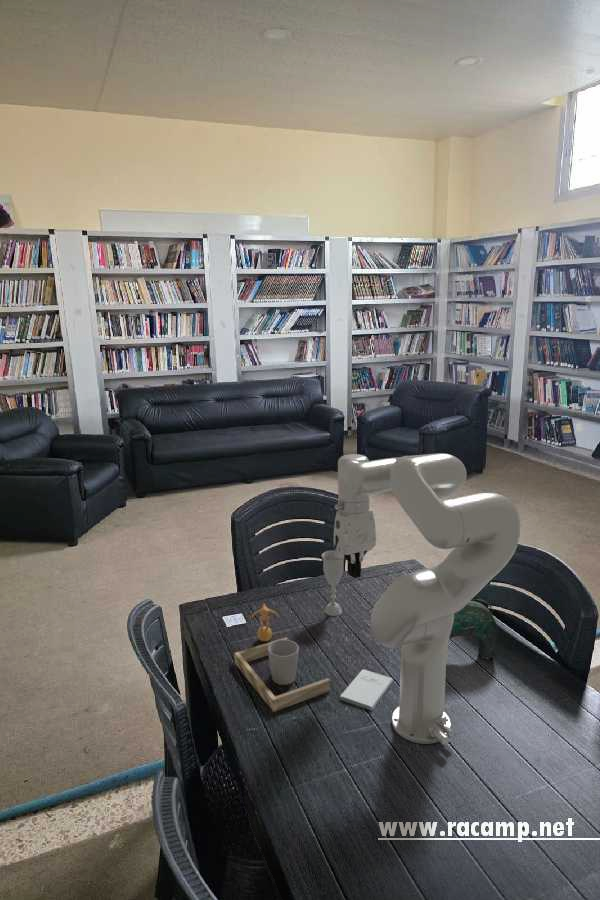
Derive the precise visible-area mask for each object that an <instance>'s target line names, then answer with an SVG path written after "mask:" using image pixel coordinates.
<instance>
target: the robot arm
mask: <svg viewBox="0 0 600 900" xmlns="http://www.w3.org/2000/svg"><path fill="white" fill-rule="evenodd" d="M467 477H468V475H467V469H466V466H465V465H464V463H463V462H462V461H461V459H459V458H458V457H456V456H454V455H452V454H449V453H429V454H428V453H427V454H418V455H417V454H415V455H404V456H401V457H400V456H399V457H390V458H381V459H376V460H375V459H374V460H369V458H368V457H367V456H366V455H363V454H359V453H358V454H357V453H356V454H355V453H350V454H345V455H342V456H340V457H339V458H338V460H337V484H338V485H337V488H338V490H337V491H338V492H337V493H338V494H337V495H338V496H337V498H338V500H337V504H335V505H334V509H335V510H336V514H335V518H334V525H333V548H334V550H336V552H335V557H337V558H344V560H345V561H347V574H348V576H349V577H352V578H353V579H357V578H361V577H362V576H361V575H362V573H361V572H362V562H363V561H364V557H365V555H366V554H367V553H368V552H370V551H372V550H373V549H374V548H375V547H376V546H377V531H376V521H375V516H374V511H373V509H372V508H370V495H374V494H378V493H379V494H380V493H384V492H391V491H392V493H393V495H394V498H395V499H396V500H397V502H398V503H399V505H400V507H401V508H402V509H403V510H404V512H405V513H406V515H407V516H408V517H409V519H410V520H411V521H412V523H413V524H414V525H415V527H416V528H417V530H418V531H419V532H420V533H421V535H422V536H423V538H424V539H425V540H426V541H427V542H428V543H429V544H430V545H431V546H433V547H434V548H437V549H439V550H448V549H452V550H451V551H450V552H449V553H448V555H447V556H446V557H445V559H443V560H442V561H441V562H440V563H439V564H438V565H436V566H435V565H434V566H432V567H429V568H425V569H422V570H417V571H413V572H410V573H406V574H403V575H401V576H399V577H397V578H396V579H395V580H393V581H392V582H391V583H390V585H389V586H388V587H387V589H386V590H385V591H384V592H383V594H381V596H380V597H379V598H378V600H377V601H376V602H375V604H374V606H373V608H372V609H371V613H370V614H371V615H370V627H371V628H370V629H371V631H372V635H373V636H374V638H375V639H376V640H377V642H379V643H380V644H381V645H383V646H385V647H387V648H398V647H401V650H400V651H401V652H400V669H399V670H400V673H399V674H400V675H399V703H398V705H399V706H397V707H396V708H395V709H394V710H393V712H392V714H391V715H392V716H391V724H392V729H394V731H395V732H396V734H398V735H399V736H400V737H402V738H403V739H405V740H407V741H408V742H412V743H415V744H421V745H429V744H430V745H431V744H436V743H438V742H439V743H440V744H441V745H442V746H447V745H448V744H449V742H450V737H452V736H453V735H454V733H455V732H454V730H453V729H452V728H451V726H452V724H451V720H450V718H449V716H448V715H447V713H446V712H445V694H446V679H447V678H446V677H447V674H446V673H447V661H448V648H449V647H448V646H449V641H450V639H449V637H450V633H451V630H452V626H453V621H454V613H456V612H458V611H460V610H461V609H462V608H463V607H465V606H466V604H467V603H468V602H469V601H470V600H471V599H474V598H475V597H476V595H478V594H480V593H479V592H480V591H482V590H483V588H485V587H486V586H487V584H489V582H491V581H492V579H494V578H495V577H496V576H497V575H498V574H499V573H500V572H501V571H502V570H503V569H504V568H505V567H506V566H507V564H508V563H509V562H510V561H511V559H512V557H513V556H514V554H515V552H516V550H517V547H518V544H519V541H520V535H521V521H520V516H519V512H518V508H517V507H516V506H515V504H514V502H513V501H512V500H510V498H508V497H507V496H504V495H503V494H500V493H494V492H478V493H473V494H469V495H467V494H466V495H462V496H458V497H457V496H456V497H453V498H452V497H451V496H454V495H456V493H458V492H459V491H460V490H461V489H462V488H463V487H464V485H466V484H465V483H466V481H467ZM448 497H451V498H448ZM443 498H447V499H443Z"/></svg>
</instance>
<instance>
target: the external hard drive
mask: <svg viewBox="0 0 600 900" xmlns="http://www.w3.org/2000/svg"><path fill="white" fill-rule="evenodd" d="M393 681H394V680H393V678H392V677H389V676H387V675H383V674H380V673H377V672H373V671H370V670H368V669H361V671H359V673H358V674H357V675H356V676H355V678H354V679H353V680H352V681H351V682H350V684H349V685H348V686H347V687H346V688H345V689H344V690H343V692H342V693H341V694H340V696H339V701H342V702H345V703H349V704H352V705H354V706H357V707H360V708H363V709H366V710H368V711H371V712H372V711H373V710H374V709H375V707H376V706H377V704H379V702H380V700H381V699H382V697H384V695H385V693H386V692H387V691H388V689H389V688H390V687H391V685H392V683H393Z"/></svg>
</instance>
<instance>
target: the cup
mask: <svg viewBox="0 0 600 900" xmlns="http://www.w3.org/2000/svg"><path fill="white" fill-rule="evenodd" d="M276 640H277V641H275V640H273V641H274V642H272V641H271V642H272V643H271V644H270V645H269V646H268V661H269V662H268V663H269V669H270V673H271V679H272V681H273V682H274V683H275V684H276V685H280V686H287V685H290V684H293V683H294V681H296V676H297V671H298V670H297V669H298V663H299V662H298V661H299V651H300V647H299V644H297V642H295V641H294V640H290V639H288V640H279V639H276Z"/></svg>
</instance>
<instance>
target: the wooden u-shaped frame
mask: <svg viewBox="0 0 600 900" xmlns="http://www.w3.org/2000/svg"><path fill="white" fill-rule="evenodd" d="M277 640H289V638H288V637H287V636H285V637H282V638H279V639H276V640H273V641H269V642H266V643H263V644H260V645H257V646H253V647H250V648H245V649H243V650H239V651H237V652H234V664H235V666H236V667H238V669H239V671H240V672H241V673H242V674H243V675H244V677H245V678H246V680H247V681H248V682H249V683H250V684H251V686H252V687H253V688H254V689H255V690H256V692H257V693H258V694H259V696H260V697H261V698H262V699H263V701H264V702H265V703H266V704H267V706H268V707H269V708H270V709H271V711H272V712H274V713H275V712H277V711H280V710H282V709H285V708H287V707H291V706H294V705H296V704H299V703H301V702H302V703H303V702H304V701H307V700H310V699H313V698H315V697H319V696H322V695H324V694H327V693H329V692H330V691H331V690H330V689H331V688H330V687H331V681H330V678H328V677H326V678H323V679H320V680H318V681H315V682H313V683H310V684H307V685H304V686H301V687H298V688H296V689H293V690H290V691H287V692H284V693H282V694H279V695H275V694H273V692H272V691H271V689H269V687H268V686H267V685H266V684H265V682H264V681H263V680H262V679H261V678H260V676H259V675H258V674H257V673H256V671H255V670H254V669H253V668H252V667H251V666H250V665H249V663H248V662H251V661H256V660H258V659H261V658H264V657H267V656H268V646H269V645H270V644H271V643H272V642H274V641H277ZM268 657H269V656H268Z"/></svg>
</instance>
